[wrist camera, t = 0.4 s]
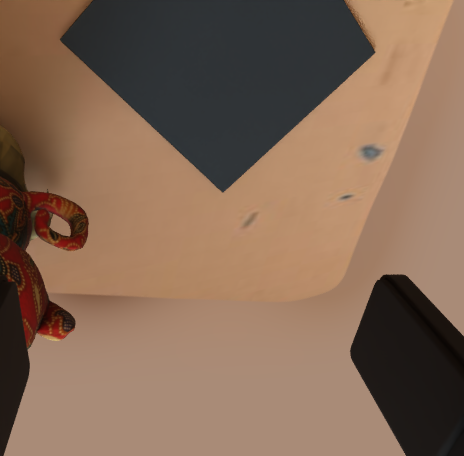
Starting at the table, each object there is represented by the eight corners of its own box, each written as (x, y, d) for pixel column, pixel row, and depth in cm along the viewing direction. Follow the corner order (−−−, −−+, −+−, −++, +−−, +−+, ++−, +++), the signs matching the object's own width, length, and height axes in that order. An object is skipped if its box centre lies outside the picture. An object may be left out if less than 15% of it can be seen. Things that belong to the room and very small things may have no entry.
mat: (237, -170, 28) (239, -172, 28) (373, 52, 38) (375, 52, 37) (60, 39, 33) (59, 39, 32) (222, 191, 42) (223, 192, 42)
